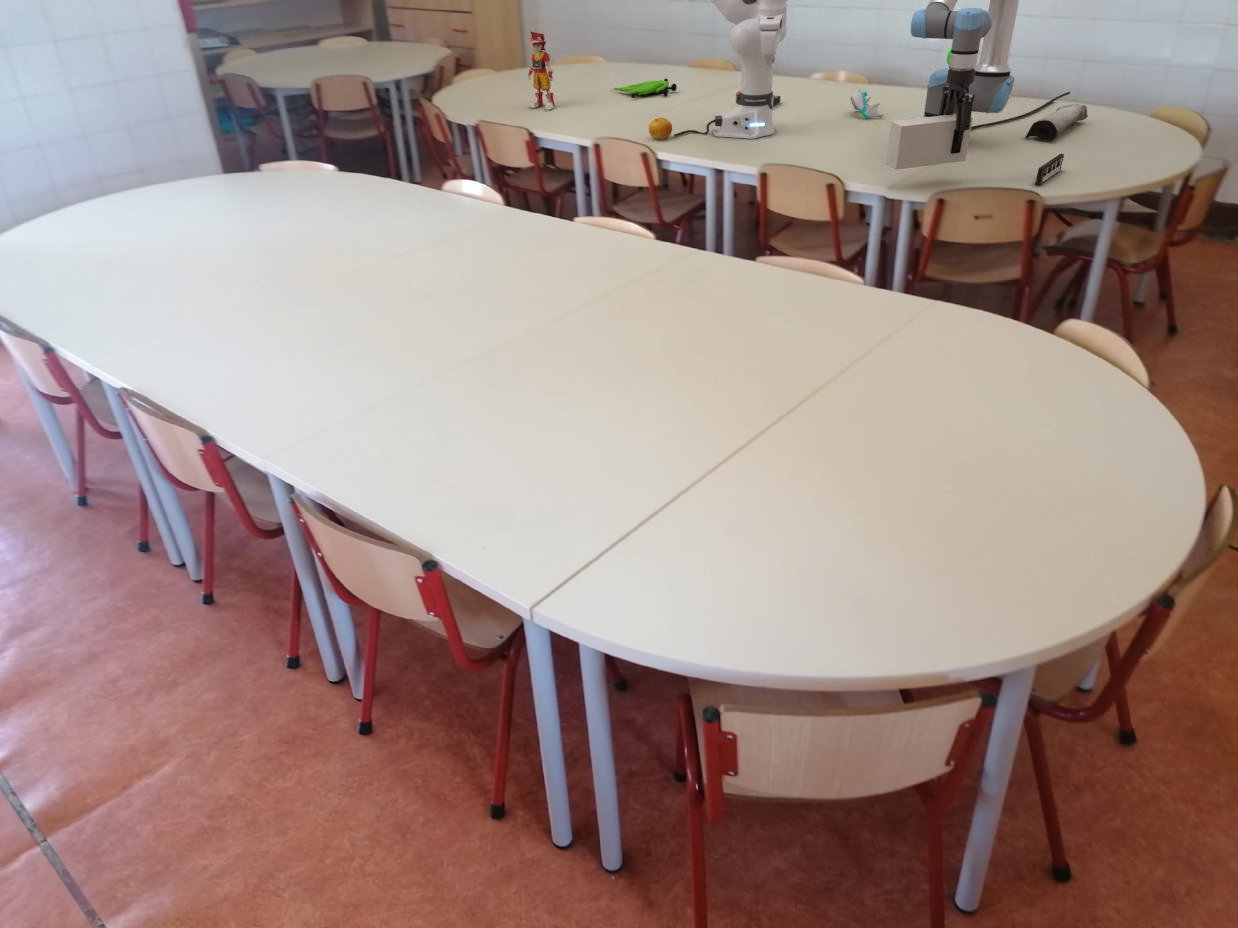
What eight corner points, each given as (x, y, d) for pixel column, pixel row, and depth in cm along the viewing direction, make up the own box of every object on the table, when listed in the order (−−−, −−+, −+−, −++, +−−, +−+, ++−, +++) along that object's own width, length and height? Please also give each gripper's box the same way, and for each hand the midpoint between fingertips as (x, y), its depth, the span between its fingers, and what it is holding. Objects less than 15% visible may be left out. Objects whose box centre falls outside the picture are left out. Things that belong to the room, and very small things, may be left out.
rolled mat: (1054, 109, 326) (1079, 92, 318) (1068, 130, 327) (1093, 113, 318) (1021, 132, 309) (1046, 114, 301) (1035, 154, 309) (1061, 137, 301)
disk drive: (765, 111, 358) (780, 102, 368) (766, 104, 356) (780, 95, 366) (742, 109, 363) (757, 100, 373) (742, 102, 361) (757, 93, 371)
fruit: (641, 130, 330) (653, 111, 327) (649, 133, 338) (660, 114, 335) (659, 143, 329) (671, 123, 326) (666, 146, 337) (678, 126, 334)
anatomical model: (845, 88, 347) (871, 81, 346) (848, 115, 353) (873, 108, 352) (857, 97, 335) (883, 90, 334) (859, 125, 341) (885, 118, 340)
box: (896, 169, 268) (901, 126, 261) (886, 164, 273) (891, 121, 266) (965, 161, 272) (972, 118, 265) (954, 155, 277) (961, 113, 270)
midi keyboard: (1039, 185, 269) (1043, 168, 266) (1035, 184, 270) (1038, 168, 267) (1060, 170, 279) (1064, 154, 277) (1056, 169, 280) (1060, 153, 277)
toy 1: (525, 109, 381) (517, 32, 364) (534, 104, 388) (527, 28, 371) (550, 110, 377) (543, 32, 360) (559, 105, 384) (553, 28, 367)
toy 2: (686, 85, 398) (631, 84, 414) (685, 72, 395) (629, 72, 411) (651, 104, 381) (596, 103, 397) (650, 92, 378) (594, 91, 394)
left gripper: (765, 14, 290) (763, 60, 298) (758, 25, 274) (756, 73, 281) (785, 13, 288) (783, 59, 296) (779, 24, 272) (776, 73, 280)
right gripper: (992, 73, 252) (977, 157, 265) (956, 61, 267) (944, 140, 280) (968, 76, 251) (954, 159, 264) (933, 63, 266) (922, 143, 279)
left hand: (770, 66), depth 289 cm, fingers open, 8 cm apart
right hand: (949, 149), depth 272 cm, fingers closed on box, 6 cm apart
